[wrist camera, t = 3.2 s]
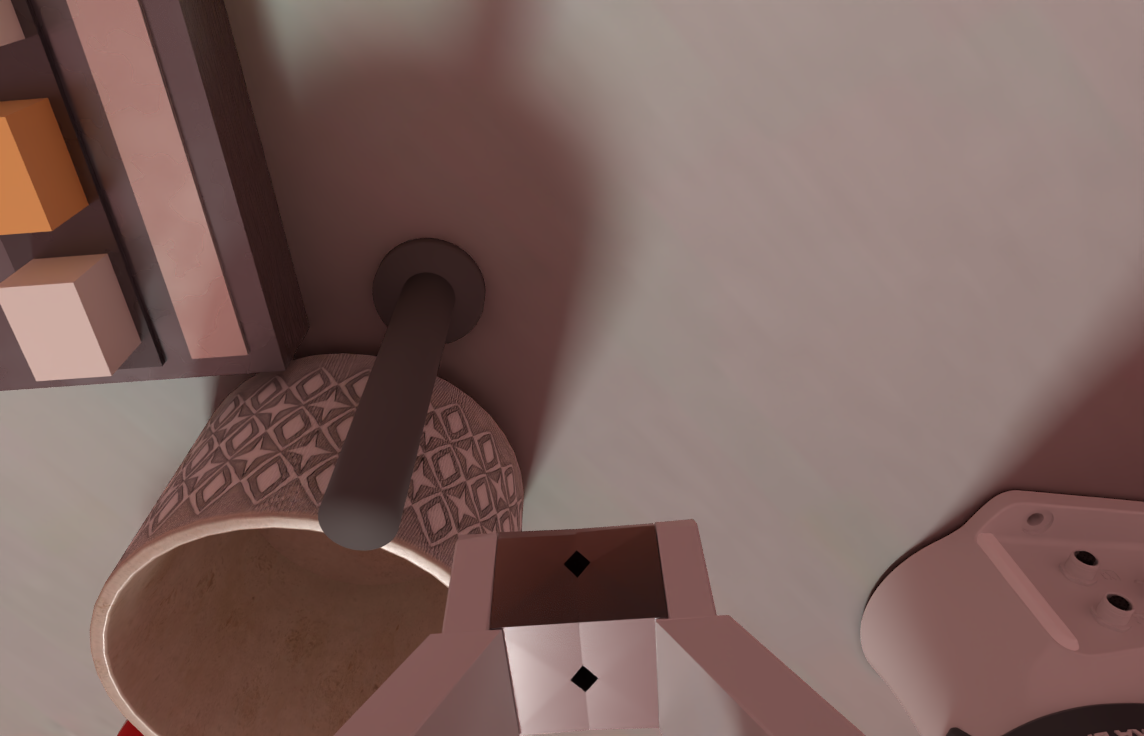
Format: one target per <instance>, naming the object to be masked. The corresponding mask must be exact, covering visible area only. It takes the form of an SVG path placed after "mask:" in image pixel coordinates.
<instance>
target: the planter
mask: <svg viewBox="0 0 1144 736" xmlns="http://www.w3.org/2000/svg"><path fill="white" fill-rule="evenodd" d="M376 357H377V356H372V355H360V354H347V353H339V354H323V355H313V356H309V357H304V358H299V359H294V360H291V362H290V363H289V365H288V367H287V369H286V371H274V372H260V373H259V374H257V375H255V376H254V377H252V378H250V379H248V380H247V381H245V382H244V383H242V384H241V385H240V386H239V387H238V388H236V389H235V390H234V391H233V392H232V393H231V394H229V395H228V396H227V397H226V398H225V400H224V401H223V402H222V403H221V405H220V406H219V407H218V408H217V410H216V411H215V412H214V413H213V415H212V416H211V418H210V420H209V421H208V423H207V424H206V426H205V427H204V429H203V431H202V432H201V434H200V435H199V437H198V438H197V440H196V442H195V443H194V445H193V446H192V448H191V449H190V451H189V453H188V454H187V456H186V457H185V459H184V460H183V462H182V464H181V465H180V467H179V468H178V470H177V471H176V473H175V475H174V476H173V478H172V479H171V481H170V482H169V484H168V485H167V487H166V489H165V490H164V492H163V493H162V495H161V496H160V498H159V500H158V501H157V503H156V504H155V506H154V507H153V509H152V511H151V512H150V514H149V515H148V517H147V518H146V520H145V522H144V523H143V525H142V526H141V528H140V529H139V531H138V533H137V534H136V536H135V537H134V539H133V540H132V542H131V544H130V545H129V547H128V548H127V550H126V551H125V553H124V554H123V556H122V558H121V559H120V561H119V562H118V564H117V565H116V567H115V569H114V570H113V572H112V573H111V575H110V576H109V578H108V580H107V581H106V583H105V585H104V587H103V589H102V591H101V593H100V595H99V597H98V599H97V601H96V603H95V606H94V610H93V615H92V620H91V625H90V643H91V654H92V657H93V661H94V664H95V668H96V671H97V674H98V676H99V678H100V680H101V682H102V684H103V686H104V688H105V690H106V692H107V694H108V696H109V697H110V698H111V700H112V701H113V702H114V703H115V705H116V706H117V707H118V709H119V710H120V711H121V713H122V714H123V715H124V717H126V718H127V719H128V720H129V721H130V722H131V723H132V724H133V725H134V726H135V727H136V728H137V729H138V730H139V731H140V732H141V733H142V734H143V735H144V736H333V735H334V734H335V733H336V732H337V731H338V730H339V729H340V728H341V727H342V726H343V725H344V724H345V723H346V722H347V721H348V720H349V719H350V718H351V717H352V715H353V714H354V713H355V712H356V711H357V710H358V709H359V708H360V707H361V706H362V705H363V704H364V703H365V702H366V701H367V700H368V699H369V698H370V697H371V696H372V694H373V693H374V692H375V691H376V690H377V689H378V688H379V687H380V686H381V685H382V684H383V683H384V682H385V681H386V680H387V679H388V678H389V677H390V676H391V675H392V673H393V672H394V671H395V670H396V669H397V668H398V667H399V666H400V665H401V664H402V663H403V662H404V661H405V660H406V659H407V658H408V657H409V656H410V655H411V653H412V652H413V651H414V650H415V649H416V648H417V647H418V646H419V645H420V644H421V643H422V642H423V641H424V640H425V639H426V638H427V637H428V636H429V635H430V634H439V633H442V628H443V621H444V615H445V608H446V602H447V596H448V589H449V583H450V576H451V570H452V563H453V557H454V550H455V544H456V542H457V540H458V538H459V536H460V535H465V534H489V533H498V534H499V533H500V532H517V531H522V515H523V499H524V491H523V483H522V475H521V471H520V468H519V465H518V462H517V459H516V456H515V453H514V451H513V449H512V447H511V445H510V443H509V442H508V440H507V438H506V436H505V434H504V433H503V431H502V430H501V429H500V428H499V426H498V425H497V424H496V422H495V421H494V420H493V419H492V417H491V416H490V415H489V414H488V413H487V412H486V411H485V410H484V409H483V408H482V407H481V406H480V405H479V404H478V403H477V402H475V401H474V400H473V399H472V398H471V397H470V396H468V395H467V394H465V393H464V392H463V391H461V390H460V389H458V388H457V387H455V386H454V385H452V384H451V383H449V382H448V381H446V380H444V379H442V378H440V377H438V376H436V380H435V384H434V388H433V392H432V396H431V400H430V404H429V408H428V412H427V417H426V421H425V425H424V429H423V433H422V437H421V441H420V445H419V449H418V453H417V457H416V461H415V465H414V469H413V473H412V477H411V481H410V485H409V489H408V494H407V498H406V502H405V506H404V510H403V514H402V518H401V522H400V526H399V530H398V532H397V534H396V536H395V537H394V539H393V540H392V541H391V542H389V543H388V544H387V545H385V546H383V547H381V548H378V549H374V550H367V551H361V550H353V549H349V548H345V547H343V546H340V545H339V544H337V543H335V542H333V541H332V540H331V539H330V538H328V537H327V536H326V535H325V533H324V532H323V531H322V529H321V527H320V525H319V521H318V510H319V507H320V505H321V502H322V499H323V497H324V494H325V491H326V489H327V486H328V483H329V481H330V478H331V476H332V473H333V470H334V468H335V465H336V462H337V460H338V457H339V454H340V452H341V449H342V447H343V444H344V441H345V439H346V436H347V433H348V431H349V428H350V425H351V423H352V420H353V418H354V415H355V412H356V410H357V407H358V404H359V402H360V399H361V396H362V394H363V391H364V389H365V386H366V383H367V381H368V378H369V375H370V373H371V370H372V367H373V365H374V362H375V360H376Z"/></svg>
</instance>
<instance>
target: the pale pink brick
mask: <svg viewBox="0 0 1144 736" xmlns="http://www.w3.org/2000/svg"><path fill="white" fill-rule="evenodd" d="M0 305H1V307H2V309H3V311H4V313H5V315H6V317H7V320H8V322H9V324H10V326H11V328H12V330H13V332H14V335H15V337H16V339H17V341H18V343H19V345H20V347H21V350H22V352H23V354H24V356H25V358H26V360H27V362H28V365H29V367H30V369H31V371H32V373H33V375H34V377H35V380H36V381H47V380H62V379H76V378H90V377H104V376H112V375H113V374H114V373H115V372H116V371H117V369H118V368H119V367H120V366H121V365H122V364H123V363H124V362H125V360H126V359H127V358H128V357H129V356H130V355H131V354H132V352H133V351H134V350H135V349H136V348H137V347H138V346H139V345H140V343H141V340H140V338H139V335H138V332H137V330H136V327H135V324H134V322H133V319H132V317H131V314H130V311H129V309H128V306H127V304H126V301H125V298H124V296H123V293H122V290H121V288H120V285H119V283H118V280H117V277H116V275H115V272H114V270H113V267H112V264H111V262H110V259H109V256H108V254H95V255H82V256H68V257H55V258H42V259H32V260H31V261H30V262H28V263H27V264H25V265H24V266H23V267H21V268H20V269H19V270H17V271H16V272H15V273H13V274H12V275H11V276H9V277H8V278H7V279H5V280H4V281H2V282H1V283H0Z"/></svg>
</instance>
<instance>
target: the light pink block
mask: <svg viewBox="0 0 1144 736" xmlns="http://www.w3.org/2000/svg"><path fill="white" fill-rule="evenodd" d="M22 39H25V36H24V34H23V31H22V29H21V26H20V23H19V21H18V18H17V15H16V13H15V10H14V8H13V5H12V2H11V0H0V46H3V45H7V44H10V43H13V42H16V41H19V40H22Z"/></svg>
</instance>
